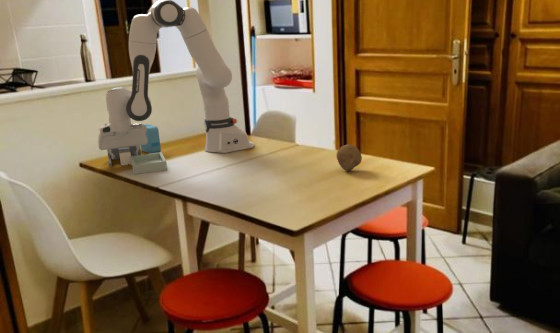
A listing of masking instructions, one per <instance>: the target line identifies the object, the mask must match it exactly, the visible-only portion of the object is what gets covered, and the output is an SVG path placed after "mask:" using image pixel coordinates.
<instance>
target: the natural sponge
mask: <svg viewBox="0 0 560 333" xmlns="http://www.w3.org/2000/svg"><path fill="white" fill-rule="evenodd" d="M336 159H337V162H338V165H339V166H340V168H342V169H343V170H344V171H345V172H351V171H352V170H353V169H354V168H355V167H358V166H359V165H360V164H361V163H362V160H363V158H362V154H361V151H360V150H359V149H358V147H357V146H355V145H353V144H345V145H342V146H341V147H339V149H338V150H337V152H336Z"/></svg>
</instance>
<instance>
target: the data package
mask: <svg viewBox="0 0 560 333" xmlns="http://www.w3.org/2000/svg"><path fill="white" fill-rule="evenodd" d="M144 125H145V126H146V129H147V131H146V133H145V134H146V137H147V144H146V145H140V150H141V151H143V152H144V153H147V154H152V153H159V152H161V150H162V149H161V148H162V147H161V141H160V131H159V128H158V126H155V125H152V124H144ZM144 125H142V126H144Z"/></svg>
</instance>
